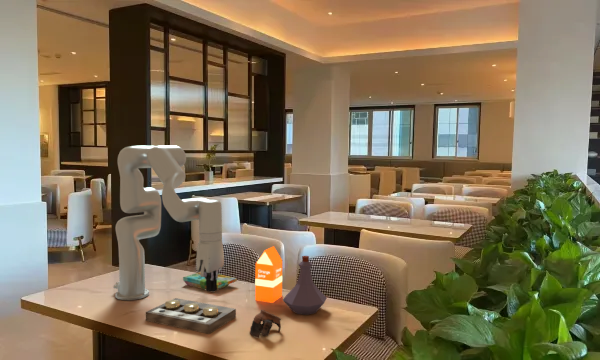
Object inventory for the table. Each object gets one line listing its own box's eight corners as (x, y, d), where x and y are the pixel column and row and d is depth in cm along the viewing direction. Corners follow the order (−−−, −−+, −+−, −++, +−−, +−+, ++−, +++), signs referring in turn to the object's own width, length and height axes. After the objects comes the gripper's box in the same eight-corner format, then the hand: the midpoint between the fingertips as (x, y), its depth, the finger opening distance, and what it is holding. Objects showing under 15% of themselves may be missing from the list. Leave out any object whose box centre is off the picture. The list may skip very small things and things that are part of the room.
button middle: (180, 313, 161) (180, 307, 161) (189, 308, 165) (189, 302, 165) (192, 315, 159) (192, 309, 159) (201, 310, 163) (201, 304, 163)
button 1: (162, 309, 164) (162, 303, 164) (171, 305, 169) (171, 299, 168) (173, 311, 162) (173, 305, 162) (182, 307, 167) (182, 301, 166)
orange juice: (254, 300, 182) (255, 249, 181) (265, 293, 190) (265, 245, 189) (273, 303, 179) (273, 251, 178) (282, 296, 187) (283, 246, 186)
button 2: (200, 317, 158) (200, 310, 157) (208, 312, 162) (208, 306, 162) (212, 319, 156) (212, 313, 155) (220, 314, 160) (220, 308, 160)
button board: (145, 320, 160) (145, 311, 160) (175, 305, 175) (175, 297, 175) (209, 333, 150) (209, 323, 149) (235, 317, 164) (235, 307, 164)
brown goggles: (245, 330, 154) (256, 306, 156) (271, 342, 155) (282, 318, 157) (250, 335, 143) (261, 309, 145) (278, 348, 144) (289, 322, 146)
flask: (299, 299, 184) (300, 249, 182) (335, 308, 174) (336, 255, 172) (273, 311, 170) (273, 257, 169) (310, 322, 161) (311, 264, 159)
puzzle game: (202, 269, 210) (237, 276, 199) (202, 279, 210) (237, 287, 199) (183, 275, 200) (217, 283, 189) (183, 285, 200) (217, 294, 189)
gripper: (214, 232, 165) (214, 283, 166) (187, 240, 151) (188, 296, 153) (232, 234, 162) (233, 286, 163) (206, 241, 148) (207, 298, 149)
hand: (211, 290), depth 158 cm, fingers closed
